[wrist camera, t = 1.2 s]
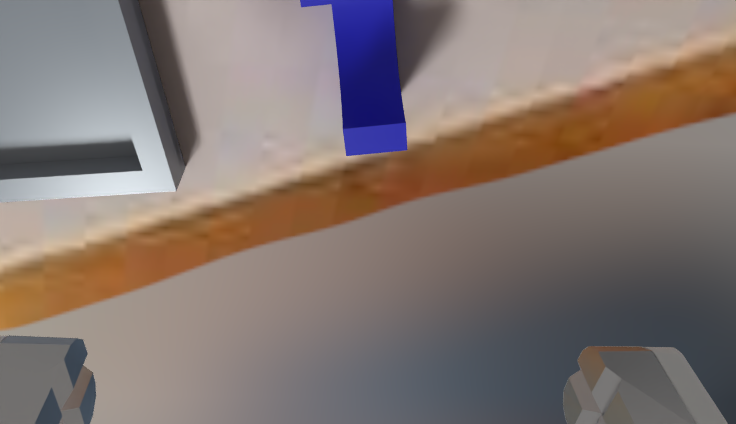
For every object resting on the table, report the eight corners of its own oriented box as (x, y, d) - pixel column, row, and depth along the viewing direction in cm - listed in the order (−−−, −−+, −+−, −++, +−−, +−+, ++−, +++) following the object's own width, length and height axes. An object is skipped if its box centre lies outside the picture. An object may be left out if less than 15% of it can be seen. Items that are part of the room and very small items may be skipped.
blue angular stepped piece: (281, -139, 26) (269, -121, 21) (381, -149, 26) (392, -134, 21) (318, 104, 33) (316, 158, 28) (396, 96, 33) (407, 150, 28)
